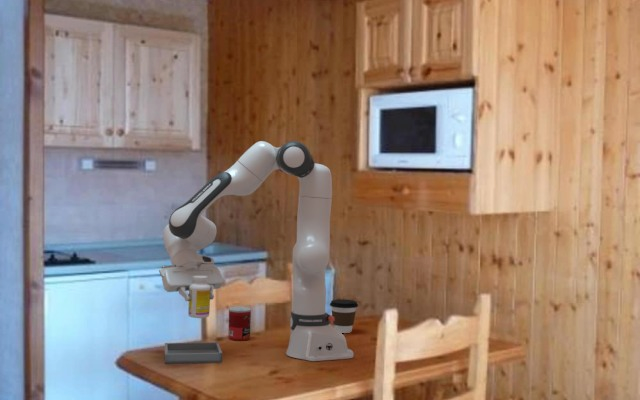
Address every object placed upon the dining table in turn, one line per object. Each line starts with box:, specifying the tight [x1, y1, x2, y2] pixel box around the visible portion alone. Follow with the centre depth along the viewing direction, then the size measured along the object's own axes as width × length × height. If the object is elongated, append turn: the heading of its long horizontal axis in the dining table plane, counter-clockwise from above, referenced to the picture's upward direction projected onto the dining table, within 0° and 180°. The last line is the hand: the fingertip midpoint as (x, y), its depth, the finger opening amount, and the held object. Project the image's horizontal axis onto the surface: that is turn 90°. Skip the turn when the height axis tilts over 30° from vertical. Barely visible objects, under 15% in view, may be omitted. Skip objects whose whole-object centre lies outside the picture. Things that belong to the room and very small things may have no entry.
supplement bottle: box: [188, 276, 211, 319], centre depth 237 cm, size 7×7×13 cm
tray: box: [164, 341, 223, 365], centre depth 241 cm, size 18×16×3 cm
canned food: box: [227, 306, 252, 342], centre depth 270 cm, size 8×8×11 cm
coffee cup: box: [329, 298, 359, 334], centre depth 287 cm, size 11×11×12 cm
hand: (200, 299), depth 236 cm, fingers closed on supplement bottle, 7 cm apart
